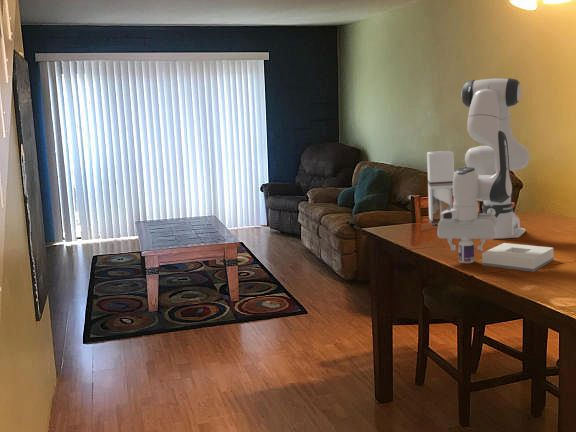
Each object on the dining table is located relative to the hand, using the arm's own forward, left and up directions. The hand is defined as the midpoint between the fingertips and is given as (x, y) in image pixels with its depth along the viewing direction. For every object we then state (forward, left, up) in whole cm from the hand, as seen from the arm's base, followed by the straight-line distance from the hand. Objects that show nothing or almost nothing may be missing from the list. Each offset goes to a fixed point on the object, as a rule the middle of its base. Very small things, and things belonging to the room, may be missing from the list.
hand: (466, 250), depth 212 cm
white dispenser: (-63, -45, -4) cm, 78 cm away
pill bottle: (0, 0, -4) cm, 5 cm away
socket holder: (-7, +16, -4) cm, 18 cm away
